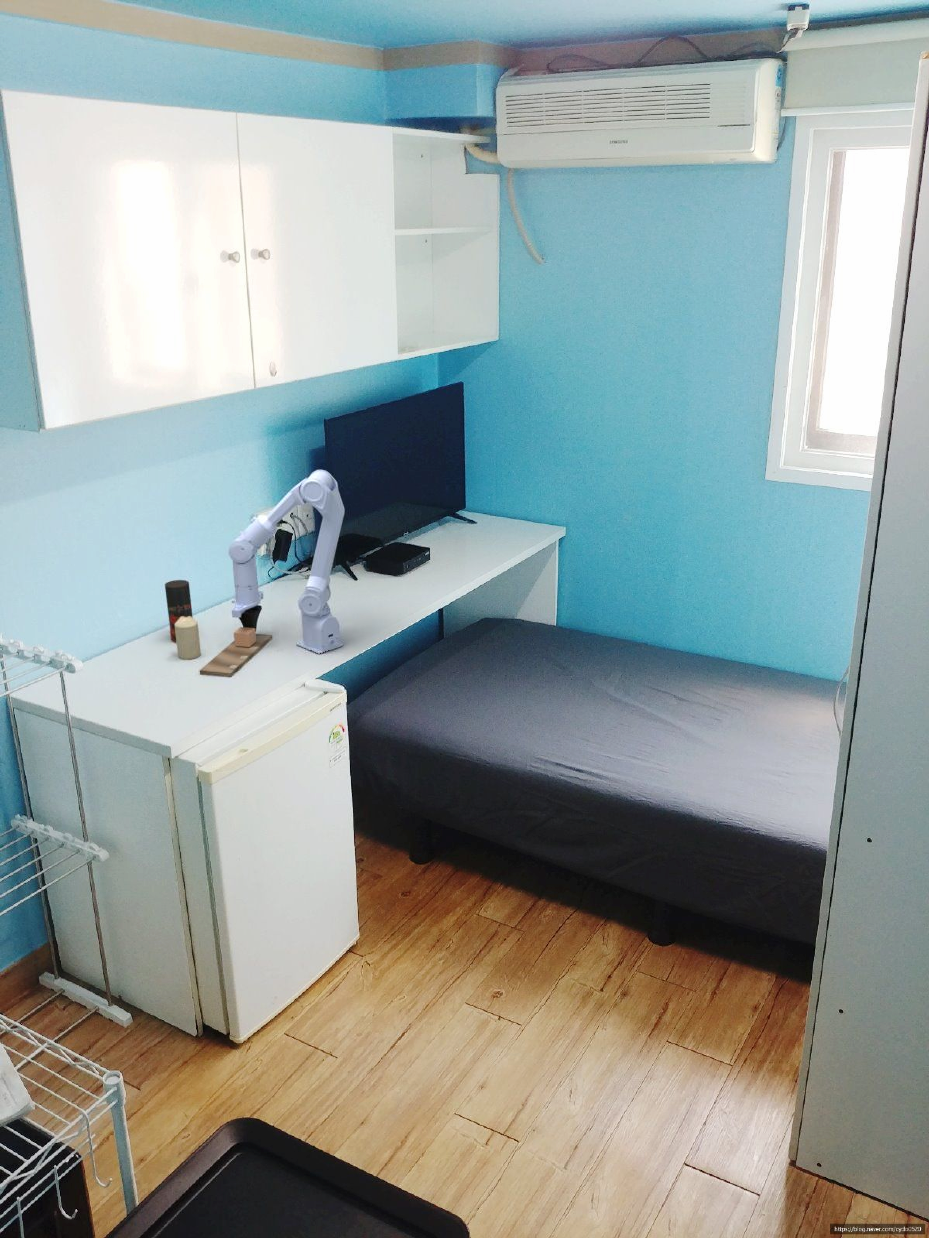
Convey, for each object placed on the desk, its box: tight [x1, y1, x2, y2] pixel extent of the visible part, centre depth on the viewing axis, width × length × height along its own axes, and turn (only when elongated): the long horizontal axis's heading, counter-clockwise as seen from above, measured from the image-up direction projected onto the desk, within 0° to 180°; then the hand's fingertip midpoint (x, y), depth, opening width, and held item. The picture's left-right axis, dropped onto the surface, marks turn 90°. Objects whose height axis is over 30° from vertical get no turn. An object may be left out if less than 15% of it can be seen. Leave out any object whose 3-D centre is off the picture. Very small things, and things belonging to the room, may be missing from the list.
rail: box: [198, 633, 273, 678], centre depth 266 cm, size 25×8×1 cm, turn 167°
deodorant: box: [164, 579, 194, 644], centre depth 274 cm, size 6×6×15 cm
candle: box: [175, 616, 202, 660], centre depth 265 cm, size 6×6×10 cm
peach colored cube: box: [233, 626, 257, 647], centre depth 269 cm, size 4×4×4 cm
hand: (250, 634), depth 272 cm, fingers closed
